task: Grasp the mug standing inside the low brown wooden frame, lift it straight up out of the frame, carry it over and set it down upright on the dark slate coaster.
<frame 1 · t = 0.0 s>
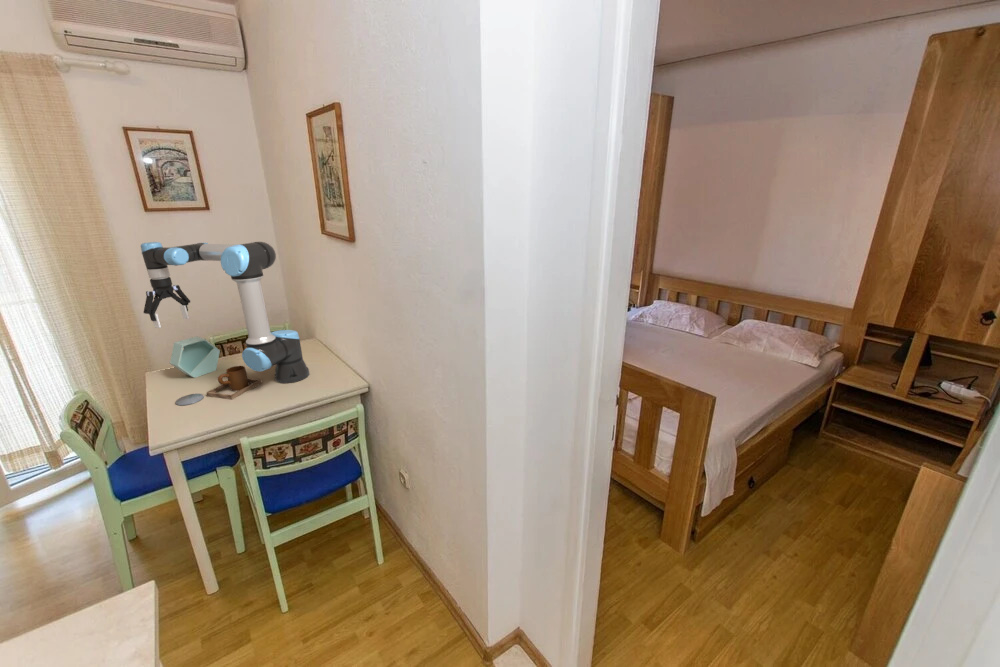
hand: (172, 323, 201), 28 cm above the table, fingers open, 13 cm apart
brown wooden frame: (235, 389, 197), on the table
mug: (235, 390, 197), resting in brown wooden frame
coaster: (190, 400, 188), on the table
planter: (200, 373, 215), on the table
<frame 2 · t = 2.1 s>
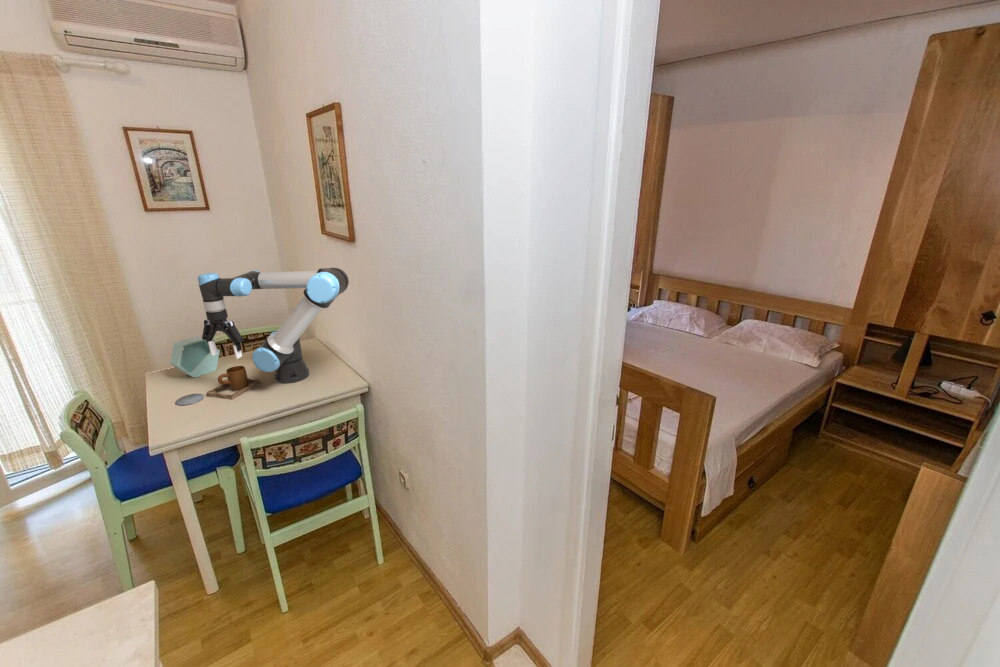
hand: (226, 356, 192), 16 cm above the table, fingers open, 13 cm apart
nothing on the table moved.
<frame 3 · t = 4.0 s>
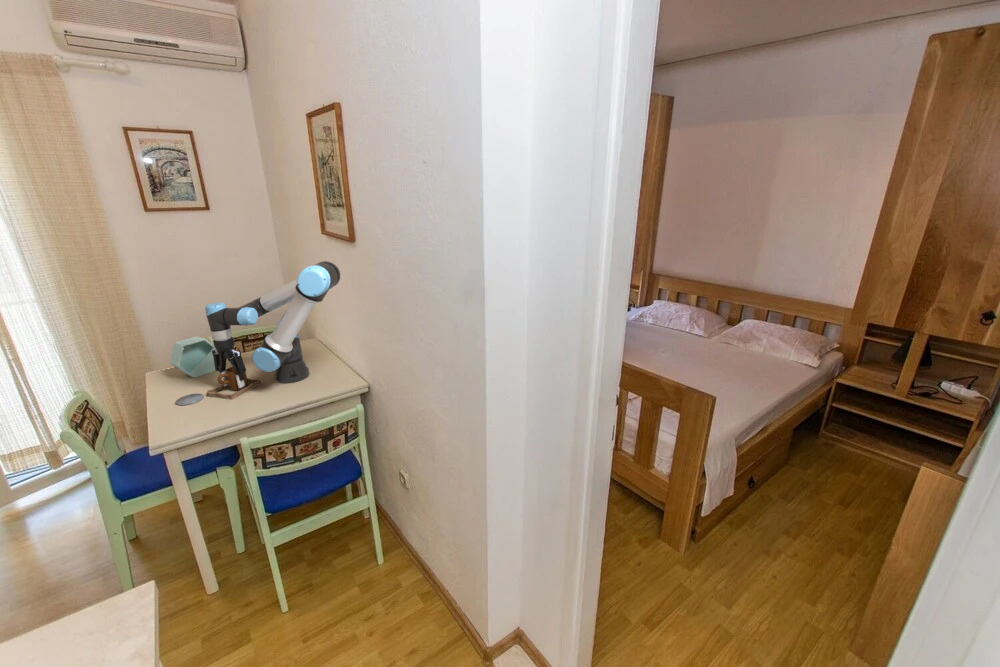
hand: (234, 385, 196), 2 cm above the table, fingers closed on mug, 7 cm apart
mug: (234, 389, 197), resting in brown wooden frame, touching gripper
everything else where it was.
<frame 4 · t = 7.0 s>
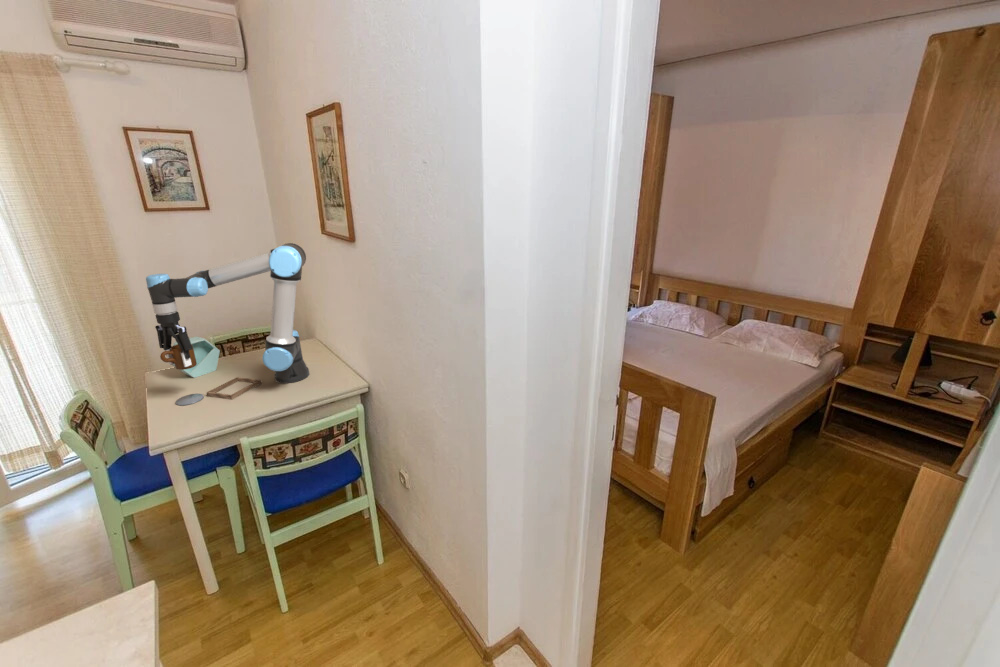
hand: (180, 364, 183), 16 cm above the table, fingers closed on mug, 7 cm apart
mug: (181, 368, 184), point 14 cm above the table, touching gripper
everything else where it was.
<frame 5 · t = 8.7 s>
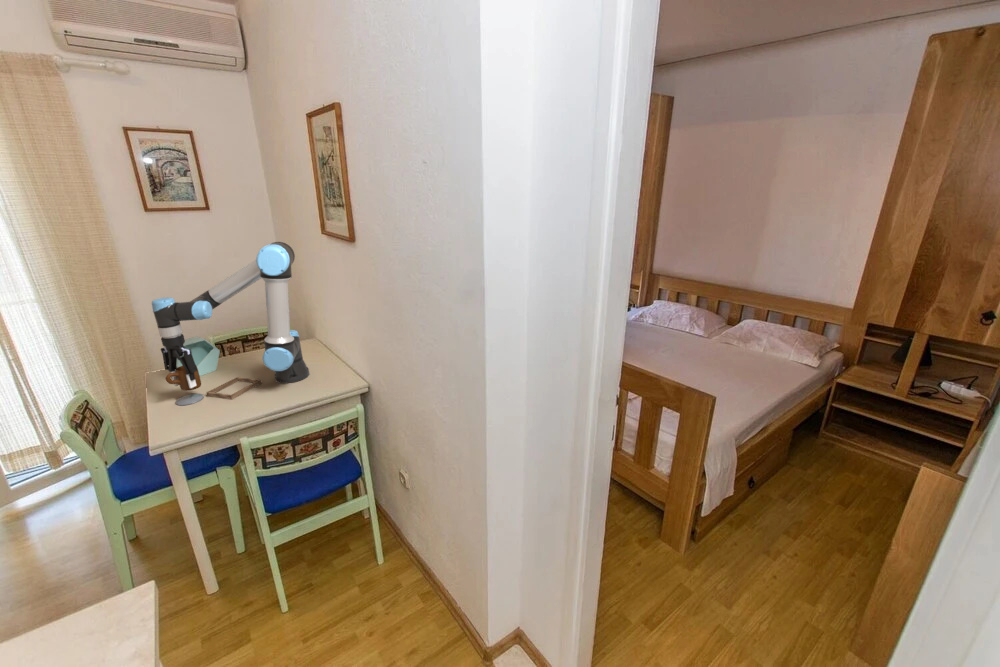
hand: (185, 385, 186), 7 cm above the table, fingers closed on mug, 7 cm apart
mug: (186, 389, 187), point 5 cm above the table, touching gripper
everything else where it was.
when the fingers open (4 cm above the table, at t = 10.2 s): mug drops 1 cm, resting on coaster.
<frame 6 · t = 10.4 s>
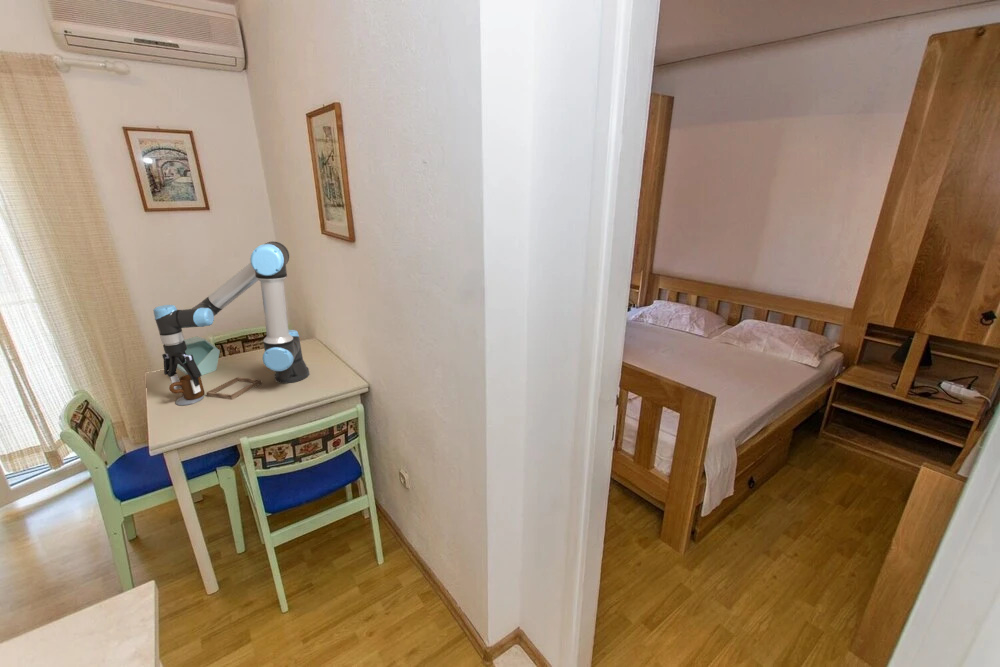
hand: (187, 390, 186), 4 cm above the table, fingers open, 10 cm apart
mug: (189, 398, 188), resting on coaster
everything else where it was.
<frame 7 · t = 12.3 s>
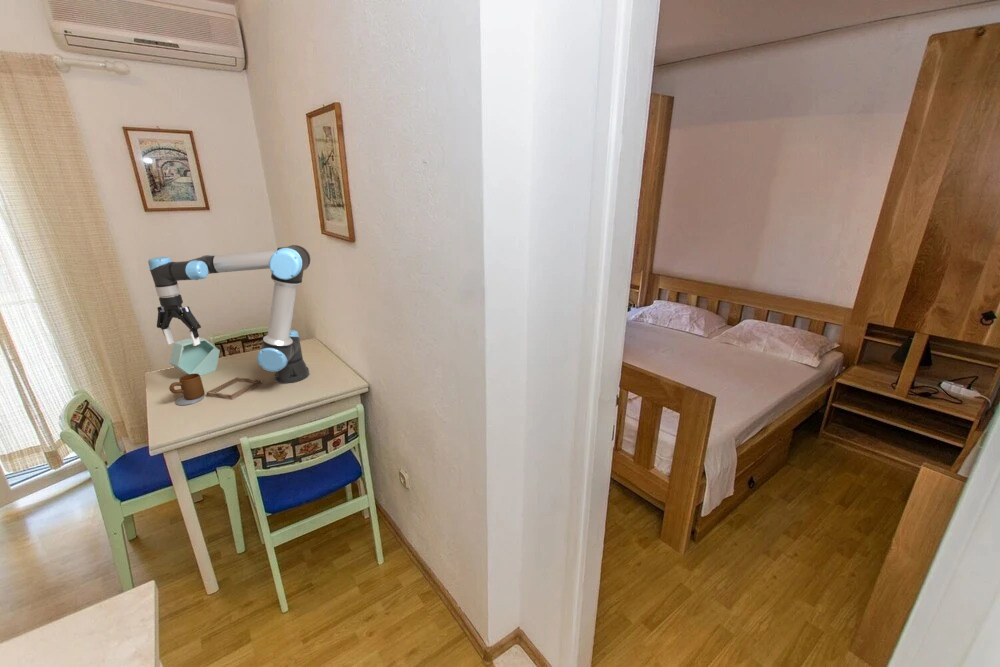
hand: (183, 344, 185), 24 cm above the table, fingers open, 13 cm apart
nothing on the table moved.
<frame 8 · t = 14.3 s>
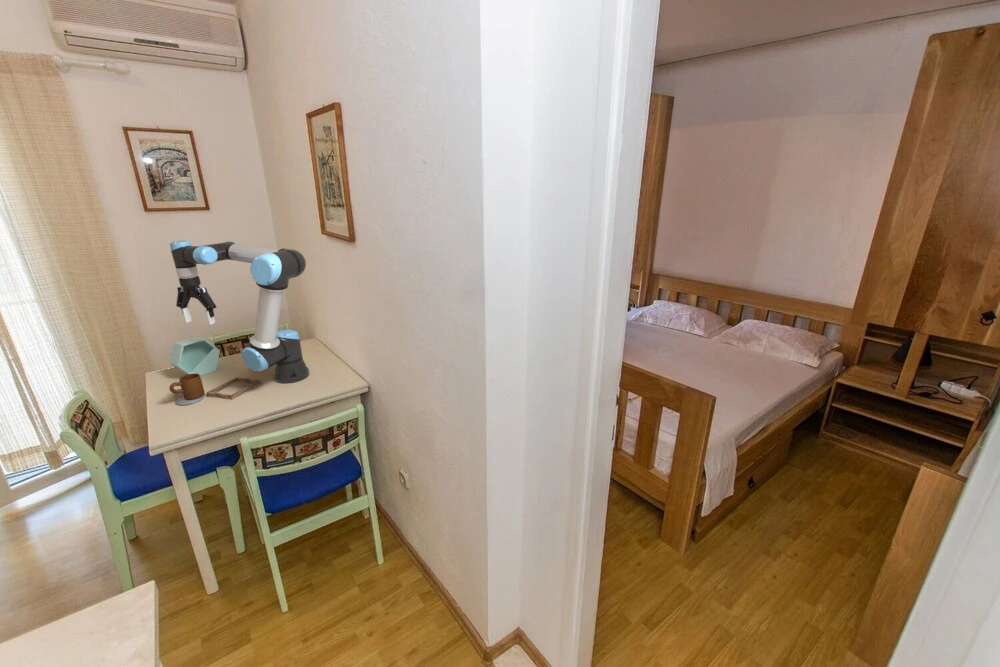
hand: (200, 322, 198), 29 cm above the table, fingers open, 13 cm apart
nothing on the table moved.
at the end: mug 0.3 cm from the coaster (horizontally); mug tilted 0°; the gripper is holding nothing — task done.
